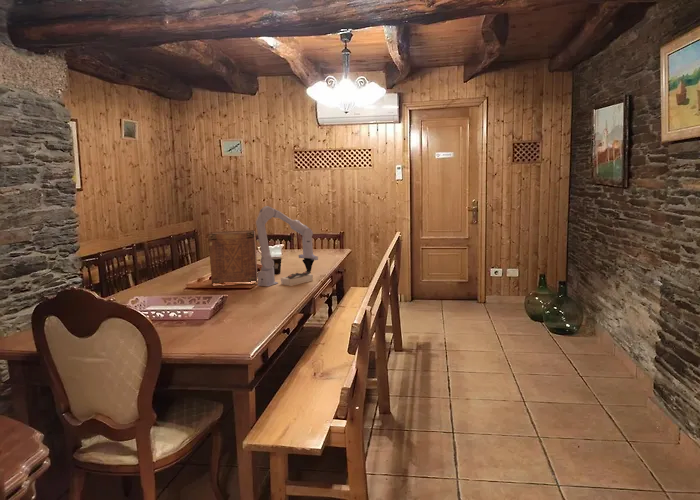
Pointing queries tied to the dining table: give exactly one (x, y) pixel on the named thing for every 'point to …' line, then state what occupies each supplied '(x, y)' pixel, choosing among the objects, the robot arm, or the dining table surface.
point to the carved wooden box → (233, 256)
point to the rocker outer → (306, 272)
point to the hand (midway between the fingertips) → (309, 271)
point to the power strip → (296, 280)
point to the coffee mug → (276, 265)
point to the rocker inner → (292, 276)
